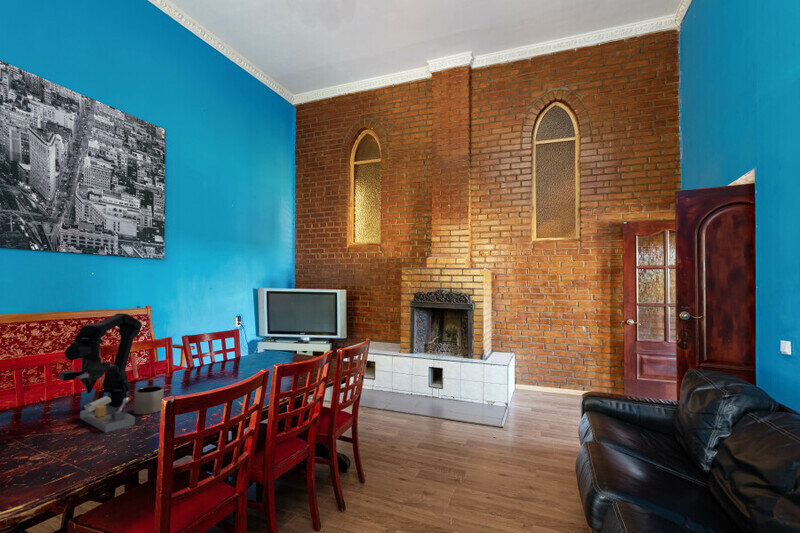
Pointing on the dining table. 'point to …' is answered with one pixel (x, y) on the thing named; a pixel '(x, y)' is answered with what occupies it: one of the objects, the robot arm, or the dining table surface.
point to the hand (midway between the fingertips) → (88, 393)
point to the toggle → (122, 405)
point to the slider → (100, 410)
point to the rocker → (97, 403)
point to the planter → (148, 400)
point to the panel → (108, 419)
